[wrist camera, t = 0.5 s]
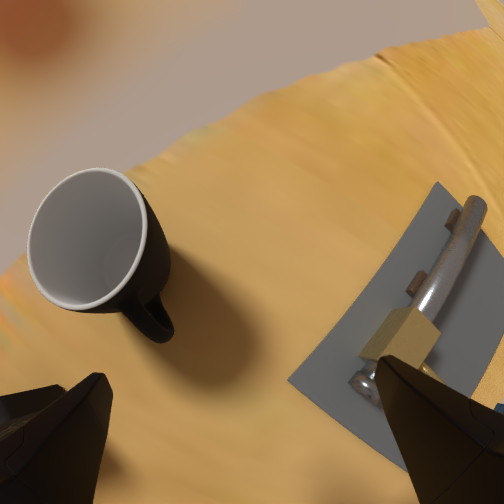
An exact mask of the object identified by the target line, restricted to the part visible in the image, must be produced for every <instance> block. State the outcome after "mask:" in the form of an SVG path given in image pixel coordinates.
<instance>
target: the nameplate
mask: <svg viewBox="0 0 504 504" xmlns="http://www.w3.org/2000/svg"><path fill="white" fill-rule="evenodd" d="M62 395H64V394H63V392H62V390H61V388H60V387H59V385H58V384H56V385H51V386H47V387H43V388H38V389H34V390H29V391H24V392H19V393H14V394H9V395H4V396H0V441H1V440H3V439H4V438H6V437H7V436H9V435H10V434H11V433H13V432H14V431H16V430H17V429H18V428H20V427H21V426H22V425H25V423H26V422H28V421H29V420H30V419H32V418H33V417H34V416H36V415H37V414H38V413H40V412H41V411H42V410H44V409H45V408H46V407H48V406H49V405H50V404H52V403H53V402H54V401H56V400H57V399H58V398H60V397H61V396H62Z"/></svg>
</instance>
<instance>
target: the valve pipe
mask: <svg viewBox="0 0 504 504" xmlns="http://www.w3.org/2000/svg"><path fill="white" fill-rule="evenodd" d="M486 213H487V204H486V202H485V201H484V200H483V199H482V198H480V197H479V196H475V195H472V196H469V197H468V198H467V200H466V202H465V204H464V206H463V209H462V211H461V212H460V211H459V210H458V209H457V208H455V209H454V210H452V211H451V213H450V215H449V217H448V219H447V221H446V223H445V225H444V226H445V227H446V228H447V229H448V230H449V231H450V232H451V233H450V235H449V237H448V239H447V241H446V243H445V244H444V246H443V248H442V250H441V252H440V254H439V255H438V257H437V259H436V261H435V263H434V264H433V266H432V268H431V269H430V271H429V273H428V275H427V274H426V273H425V272H424V271H423V270H421V271H418V272H417V273H416V275H415V276H414V278H413V279H412V281H411V282H410V284H409V286H408V287H407V289H406V290H405V292H406V293H407V294H408V295H409V296H410V297H411V298H412V300H411V302H410V303H409V305H408V306H407V307H404V308H398V309H392V311H391V312H390V313H389V315H388V316H387V318H386V319H385V320H384V322H383V323H382V325H381V326H380V327H379V329H378V330H377V331H376V333H375V334H374V335H373V337H372V338H371V339H370V340H369V342H368V343H367V344H366V346H365V347H364V348H363V349H362V351H361V352H360V353H359V354H358V357H360V358H361V359H362V360H363V361H364V362H365V363H366V364H365V365H364V366H363V368H362V369H361V370H360V371H356V372H355V374H354V375H353V376H352V377H351V378H350V380H349V381H348V382H347V383H348V384H349V385H350V386H351V387H352V388H353V389H354V390H355V391H357V392H358V393H359V394H360V395H362V396H363V397H364V398H366V399H367V400H368V401H370V402H371V403H373V404H375V405H377V404H378V403H379V402H380V397H379V393H378V390H377V387H376V383H375V380H374V374H375V370H376V367H377V363H378V359H379V358H380V357H381V356H385V355H393V356H395V357H397V358H398V359H400V360H402V361H404V362H405V363H407V364H409V365H411V366H413V367H414V368H416V369H418V370H420V371H421V372H423V373H425V374H427V375H429V376H430V377H432V378H434V379H436V380H438V381H439V382H441V383H443V384H445V385H447V384H446V383H445V382H444V381H443V380H442V379H441V378H440V377H439V376H438V375H437V374H436V373H435V372H434V371H433V370H432V369H431V368H430V367H429V366H428V365H427V364H426V363H425V362H424V360H425V358H426V357H427V355H428V353H429V352H430V350H431V349H432V347H433V346H434V344H435V342H436V341H437V339H438V338H439V336H440V334H441V332H440V331H439V330H438V329H437V328H436V327H435V326H434V325H433V324H432V323H433V321H434V320H435V318H436V316H437V315H438V313H439V311H440V310H441V308H442V306H443V304H444V303H445V301H446V299H447V297H448V295H449V294H450V292H451V290H452V288H453V286H454V284H455V282H456V280H457V278H458V276H459V274H460V272H461V270H462V268H463V266H464V264H465V262H466V260H467V258H468V256H469V254H470V251H471V249H472V247H473V245H474V242H475V240H476V238H477V235H478V233H479V231H480V228H481V226H482V223H483V221H484V218H485V215H486ZM447 386H448V385H447Z"/></svg>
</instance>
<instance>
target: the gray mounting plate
mask: <svg viewBox="0 0 504 504" xmlns="http://www.w3.org/2000/svg"><path fill="white" fill-rule="evenodd" d="M455 208H457V209H458V210H459V211H460V212H461V211H462V209H463V207H462V206H461V205H460V204H459V203H458V202H457V201H456V200H455V199H454V197H453V196H452V195H451V194H450V193H449V192H448V191H447V190H446V189H445V188H444V187H443V186H442V185H441V184H440V183H439V182H438V181H437V182H436V183H435V185H434V186H433V188H432V190H431V191H430V193H429V195H428V196H427V198H426V200H425V201H424V203H423V204H422V206H421V208H420V209H419V211H418V212H417V214H416V216H415V217H414V219H413V220H412V222H411V223H410V225H409V226H408V228H407V230H406V231H405V233H404V234H403V236H402V237H401V239H400V240H399V241H398V243H397V244H396V246H395V247H394V249H393V250H392V252H391V253H390V255H389V256H388V257H387V259H386V260H385V262H384V263H383V264H382V266H381V267H380V269H379V270H378V271H377V273H376V274H375V275H374V277H373V278H372V279H371V281H370V282H369V283H368V285H367V286H366V287H365V289H364V290H363V291H362V293H361V294H360V295H359V296H358V298H357V299H356V300H355V302H354V303H353V304H352V305H351V307H350V308H349V309H348V310H347V312H346V313H345V314H344V315H343V317H342V318H341V319H340V320H339V322H338V323H337V324H336V325H335V326H334V328H333V329H332V330H331V331H330V332H329V333H328V335H327V336H326V337H325V338H324V339H323V341H322V342H321V343H320V344H319V345H318V346H317V347H316V349H315V350H314V351H313V352H312V353H311V354H310V355H309V356H308V358H307V359H306V360H305V361H304V362H303V363H302V364H301V365H300V366H299V367H298V369H297V370H296V371H295V372H294V373H293V374H292V375H291V376H290V377H289V378H288V379H287V381H288V382H290V383H291V384H292V385H293V386H294V387H296V388H297V389H298V390H299V391H300V392H302V393H303V394H304V395H305V396H306V397H308V398H309V399H310V400H311V401H312V402H314V403H315V404H316V405H317V406H319V407H320V408H321V409H322V410H324V411H325V412H326V413H327V414H329V415H330V416H331V417H332V418H334V419H335V420H336V421H338V422H339V423H340V424H341V425H343V426H344V427H345V428H347V429H348V430H349V431H351V432H352V433H353V434H355V435H356V436H357V437H359V438H360V439H361V440H363V441H364V442H365V443H367V444H368V445H369V446H371V447H372V448H373V449H375V450H376V451H378V452H379V453H380V454H382V455H383V456H385V457H386V458H388V459H389V460H390V461H392V462H393V463H395V464H396V465H398V466H399V467H401V468H402V469H403V470H405V471H406V472H408V471H407V468H406V466H405V463H404V460H403V458H402V455H401V453H400V450H399V448H398V446H397V443H396V441H395V438H394V436H393V433H392V431H391V429H390V426H389V424H388V422H387V419H386V416H385V413H384V410H383V407H382V403H381V400H380V402H379V403H378V404H377V405H375V404H373V403H371V402H370V401H368V400H367V399H366V398H364V397H363V396H362V395H360V394H359V393H358V392H357V391H355V390H354V389H353V388H352V387H351V386H350V385H349V384H348V383H347V382H348V381H349V380H350V378H351V377H352V376H353V375H354V374H355V372H356V371H360V370H361V369H362V368H363V366H364V365H365V364H366V363H365V362H364V361H363V360H362V359H361V358H360V357H358V354H359V353H360V352H361V351H362V349H363V348H364V347H365V346H366V344H367V343H368V342H369V340H370V339H371V338H372V337H373V335H374V334H375V333H376V331H377V330H378V329H379V327H380V326H381V325H382V323H383V322H384V320H385V319H386V318H387V316H388V315H389V313H390V312H391V311H392V309H398V308H404V307H407V306H408V305H409V303H410V302H411V300H412V298H411V297H410V296H409V295H408V294H407V293H406V292H405V290H406V289H407V287H408V286H409V284H410V282H411V281H412V279H413V278H414V276H415V275H416V273H417V272H418V271H421V270H423V271H424V272H425V273H426V274H427V275H428V273H429V271H430V269H431V268H432V266H433V264H434V263H435V261H436V259H437V257H438V255H439V254H440V252H441V250H442V248H443V246H444V244H445V243H446V241H447V239H448V237H449V235H450V233H451V232H450V231H449V230H448V229H447V228H446V227H445V226H444V225H445V223H446V221H447V219H448V217H449V215H450V213H451V211H452V210H454V209H455ZM432 324H433V325H434V326H435V327H436V328H437V329H438V330H439V331H440V332H441V334H440V336H439V338H438V339H437V341H436V342H435V344H434V346H433V347H432V349H431V350H430V352H429V353H428V355H427V357H426V358H425V360H424V362H425V363H426V364H427V365H428V366H429V367H430V368H431V369H432V370H433V371H434V372H435V373H436V374H437V375H438V376H439V377H440V378H441V379H442V380H443V381H444V382H445V383H446V384H447V385H448V386H449V387H450V388H452V389H454V390H456V391H458V392H459V393H461V394H463V395H465V396H467V397H468V399H469V398H470V397H471V395H472V393H473V392H474V390H475V388H476V386H477V385H478V383H479V381H480V379H481V378H482V376H483V374H484V372H485V370H486V368H487V367H488V365H489V363H490V361H491V359H492V357H493V355H494V353H495V351H496V349H497V346H498V344H499V342H500V340H501V338H502V335H503V333H504V258H503V257H502V255H501V254H500V253H499V251H498V250H497V249H496V247H495V246H494V245H493V243H492V242H491V241H490V240H489V238H488V237H487V236H486V234H485V233H484V232H483V231H482V230H481V228H480V231H479V233H478V235H477V238H476V240H475V242H474V245H473V247H472V249H471V251H470V254H469V256H468V258H467V260H466V262H465V264H464V266H463V268H462V270H461V272H460V274H459V276H458V278H457V280H456V282H455V284H454V286H453V288H452V290H451V292H450V294H449V295H448V297H447V299H446V301H445V303H444V304H443V306H442V308H441V310H440V311H439V313H438V315H437V316H436V318H435V320H434V321H433V323H432Z"/></svg>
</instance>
